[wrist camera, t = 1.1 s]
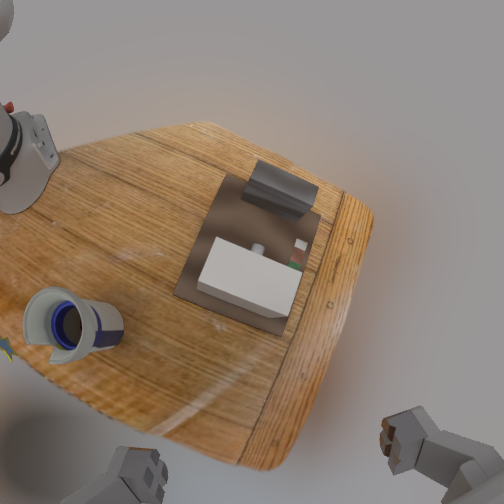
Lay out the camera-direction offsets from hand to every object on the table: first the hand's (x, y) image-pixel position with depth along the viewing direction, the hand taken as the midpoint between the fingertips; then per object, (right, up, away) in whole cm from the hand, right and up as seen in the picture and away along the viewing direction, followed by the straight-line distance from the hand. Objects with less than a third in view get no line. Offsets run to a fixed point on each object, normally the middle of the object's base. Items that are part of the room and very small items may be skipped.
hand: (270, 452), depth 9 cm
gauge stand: (-1, +7, +41) cm, 42 cm away
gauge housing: (-1, +3, +38) cm, 38 cm away
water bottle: (-24, -5, +34) cm, 42 cm away
